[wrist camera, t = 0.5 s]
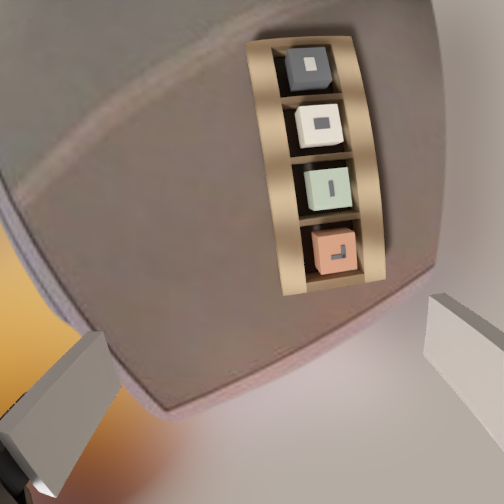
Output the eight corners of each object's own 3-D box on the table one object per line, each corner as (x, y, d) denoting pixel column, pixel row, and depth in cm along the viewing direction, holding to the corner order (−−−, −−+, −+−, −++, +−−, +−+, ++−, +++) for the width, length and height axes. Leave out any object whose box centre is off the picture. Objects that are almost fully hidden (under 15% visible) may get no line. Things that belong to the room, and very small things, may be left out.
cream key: (294, 113, 29) (299, 106, 26) (329, 111, 29) (337, 103, 25) (300, 148, 30) (305, 144, 26) (335, 145, 29) (344, 141, 26)
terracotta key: (311, 231, 31) (317, 237, 28) (345, 227, 31) (355, 232, 28) (315, 265, 32) (321, 275, 29) (348, 260, 32) (357, 269, 29)
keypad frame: (246, 52, 29) (245, 41, 26) (343, 46, 28) (350, 36, 25) (281, 286, 34) (283, 295, 31) (375, 271, 34) (385, 279, 31)
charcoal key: (284, 61, 27) (287, 48, 24) (318, 58, 27) (325, 46, 24) (290, 91, 28) (294, 82, 25) (325, 89, 28) (332, 79, 25)
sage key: (303, 172, 30) (309, 171, 27) (338, 168, 30) (347, 167, 27) (308, 208, 31) (314, 211, 28) (343, 203, 31) (352, 206, 27)
